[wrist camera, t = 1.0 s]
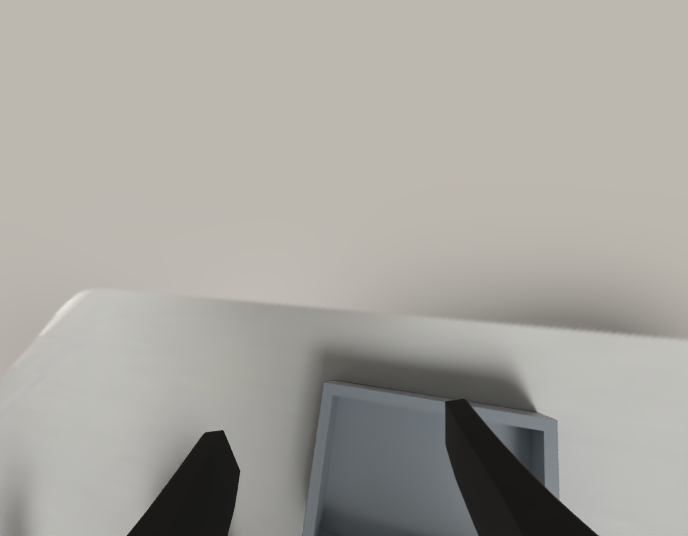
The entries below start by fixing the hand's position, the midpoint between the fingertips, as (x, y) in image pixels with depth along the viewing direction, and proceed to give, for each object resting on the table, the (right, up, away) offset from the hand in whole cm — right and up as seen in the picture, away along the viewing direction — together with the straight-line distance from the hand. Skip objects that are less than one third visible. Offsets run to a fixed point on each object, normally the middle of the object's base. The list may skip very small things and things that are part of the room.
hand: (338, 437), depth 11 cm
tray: (+6, -8, +11) cm, 15 cm away
